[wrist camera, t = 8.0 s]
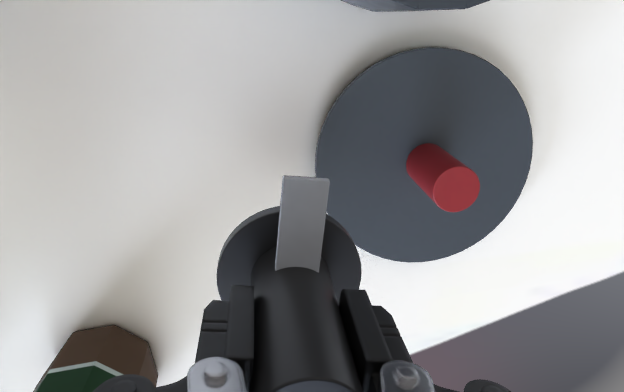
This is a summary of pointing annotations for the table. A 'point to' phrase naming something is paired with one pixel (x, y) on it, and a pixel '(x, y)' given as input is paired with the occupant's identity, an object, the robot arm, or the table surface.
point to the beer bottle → (97, 360)
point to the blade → (296, 290)
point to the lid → (424, 154)
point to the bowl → (414, 4)
